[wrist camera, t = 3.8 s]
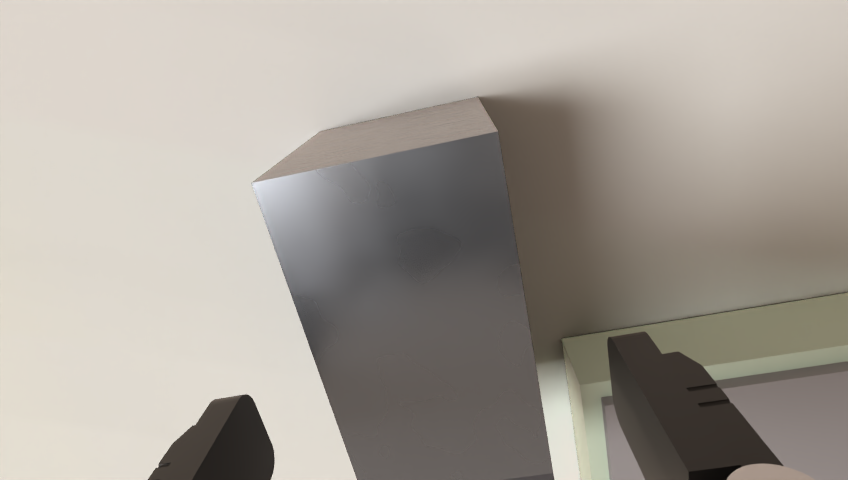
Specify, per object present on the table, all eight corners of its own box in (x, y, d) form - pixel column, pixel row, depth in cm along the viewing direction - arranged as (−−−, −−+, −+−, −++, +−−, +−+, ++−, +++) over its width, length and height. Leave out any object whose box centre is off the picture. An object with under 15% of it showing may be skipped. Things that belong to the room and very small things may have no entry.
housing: (320, 131, 16) (251, 182, 10) (477, 96, 15) (497, 131, 9) (394, 386, 19) (375, 529, 14) (524, 366, 19) (558, 506, 13)
